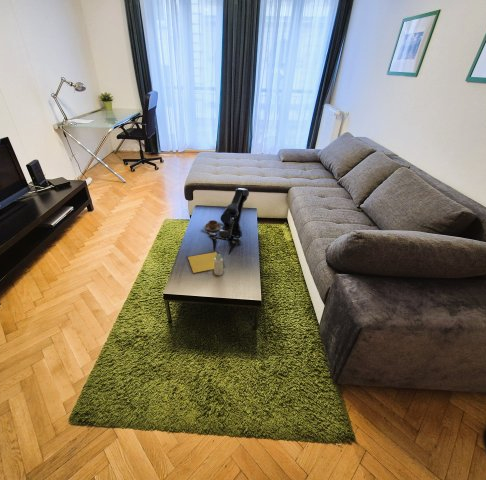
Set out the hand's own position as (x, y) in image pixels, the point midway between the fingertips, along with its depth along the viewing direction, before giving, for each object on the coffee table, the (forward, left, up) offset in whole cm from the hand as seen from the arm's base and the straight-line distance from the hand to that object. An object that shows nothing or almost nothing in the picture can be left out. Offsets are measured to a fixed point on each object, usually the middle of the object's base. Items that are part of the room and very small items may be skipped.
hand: (221, 252), depth 154 cm
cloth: (+8, -8, -11) cm, 16 cm away
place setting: (-11, -43, -11) cm, 46 cm away
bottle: (+3, +4, -11) cm, 12 cm away
